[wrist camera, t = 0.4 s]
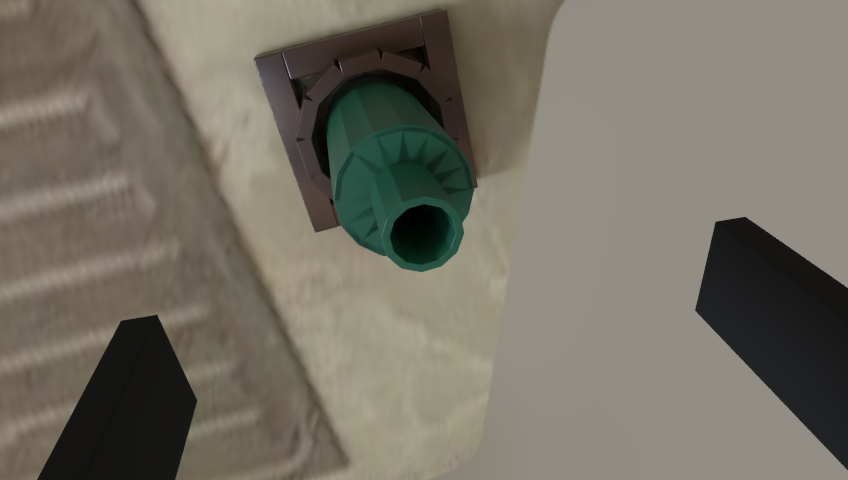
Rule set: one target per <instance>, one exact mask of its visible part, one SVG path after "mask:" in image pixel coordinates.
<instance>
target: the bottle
mask: <svg viewBox="0 0 848 480" xmlns="http://www.w3.org/2000/svg"><path fill="white" fill-rule="evenodd" d="M326 136H327V146H328V155H329V165H330V174H331V184H332V193H333V202H334V205H335V208H336V211H337V214H338V217H339V221H340V224H341V226H342V227H343V228H344V229H345V231H346V232H347V233H348V234H349V235H350V236H351V237H352V238H353V239H354V240H355V242H356V243H357V244H358V245H360V246H362V247H364V248H366V249H369V250H371V251H373V252H375V253H377V254H379V255H382V256H387V257H389V258H390V259H391V260H392V261H393V262H394V263H396V264H397V265H398V266H399V267H400V268H402V269H408V270H413V271H418V272H423V271H427V270H430V269H434V268H437V267H440V266H442V265H443V264H445V263H446V262H447V261H448V260H449V259H450V258H451V257H452V256H453V255H455V254H456V253H457V251H458V248H459V246H460V243H461V240H462V237H463V235H464V231H463V226H462V222H463V221H464V219H465V218H466V216H467V215H468V213H469V209H470V204H471V200H472V196H473V191H474V185H473V180H472V174H471V169H470V164H469V162H468V160H467V159H466V157H465V156H464V155H463V153H462V152H461V150H460V149H459V147H458V146H457V144H456V143H455V142H454V141H453V139H452V138H451V137H450V136H449V135H448V134H447V133H446V132H445V131H444V129H443V128H442V127H441V126H440V125H439V124H438V123H437V122H436V120H435V119H434V118H433V117H432V116H431V115H430V114H429V113H428V111H427V110H426V109H425V108H424V107H423V106H422V105H421V104H420V103H419V101H418V100H417V99H416V98H415V97H414V96H413V95H412V94H411V92H410V91H409V90H408V89H407V88H405V87H404V86H402V85H401V84H399V83H398V82H396V81H394V80H392V79H390V78H387V77H383V76H364V77H360V78H357V79H354V80H352V81H350V82H349V83H347V84H346V85H344V86H343V87H342V88H341V89H340V90H339V91H338V92H337V93H336V94H335V96H334V98H333V99H332V101H331V103H330V105H329V108H328V111H327V117H326Z"/></svg>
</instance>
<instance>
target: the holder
mask: <svg viewBox="0 0 848 480" xmlns="http://www.w3.org/2000/svg"><path fill="white" fill-rule="evenodd" d="M421 46H422V50H423V55H424V60H425V64H426V66H425V65H424V64H422V63H421V62H420V61H418V60H417V59H415V58H414V57H412V56H411V55H408V54H405V53H402V51H406V50H409V49H413V48H417V47H421ZM254 63H255V65H256V68H257V71H258V74H259V77H260V79H261V82H262V85H263V88H264V91H265V93H266V96H267V99H268V102H269V105H270V107H271V110H272V113H273V116H274V119H275V121H276V124H277V127H278V130H279V133H280V135H281V138H282V141H283V144H284V147H285V150H286V152H287V155H288V158H289V161H290V164H291V166H292V169H293V172H294V175H295V178H296V180H297V183H298V186H299V189H300V192H301V194H302V197H303V200H304V203H305V206H306V208H307V211H308V214H309V217H310V220H311V222H312V225H313V228H314V231H315V232H320V231H323V230H327V229H330V228H334V227H338V225H339V226H341V224H340V221H339V217H338V214H337V211H336V208H335V205H334V202H333V193H332V184H331V174H330V165H329V161H328V160H327V159H326V158H325V157H324V156H323V155H321V152H320V149H319V146H318V143H317V140H316V136H315V133H314V127H315V123H316V118H317V114H318V110H319V105H320V104H321V103H322V102H323V100H324V99H325V98H326V97H327V96H328V95H329V94H330V93H331V92H332V91H333V90H334V89H335V88H336V87H337V86H338V85H339V84H340V83H341V82H342V81H343V80H344V79H345V78H347V77H351V76H355V75H359V74H363V73H367V72H370V71H374V70H378V69H384V70H387V71H390V72H394V73H397V74H400V75H404V76H407V77H410V78H414V80H415V81H416V82H417V83H418V84H419V85H420V86H421V87H422V88H423V89H424V91H425V92H426V93H427V95H428V100H429V105H430V109H431V114H432V117H433V118H434V119H435V120H436V122H437V123H438V124H439V125H440V126H441V127H442V128H443V129H444V131H445V132H446V133H447V134H448V135H449V136H450V137H451V138H452V139H453V141H454V142H455V143H456V144H457V146H458V147H459V149H460V150H461V152H462V153H463V155H464V156H465V157H466V159H467V160H468V162H469V164H470V169H471V174H472V180H473V185H474V188H477V187H478V186H477V180H476V174H475V169H474V163H473V157H472V152H471V146H470V141H469V135H468V129H467V124H466V118H465V112H464V107H463V101H462V96H461V90H460V84H459V79H458V73H457V67H456V62H455V56H454V51H453V45H452V39H451V34H450V28H449V22H448V17H447V11H446V10H444V9H437V10H434V11H430V12H426V13H422V14H418V15H416V16H415V15H414V16H410V17H406V18H402V19H398V20H394V21H390V22H386V23H382V24H378V25H375V26H371V27H367V28H363V29H359V30H355V31H351V32H347V33H343V34H339V35H335V36H331V37H327V38H323V39H319V40H315V41H311V42H307V43H303V44H300V45H296V46H292V47H288V48H284V49H283V50H282V49H280V50H276V51H272V52H268V53H264V54H260V55H256V56H255V58H254ZM313 74H314V75H313ZM309 75H313V76H312V78H311V79H310V80H309V81H308V82H307V87H304V91H303V96H302V100H301V105H300V101H299V98H298V95H297V92H296V89H295V86H294V83H293V79H297V78H301V77H305V76H309Z"/></svg>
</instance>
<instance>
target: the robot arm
mask: <svg viewBox="0 0 848 480" xmlns="http://www.w3.org/2000/svg"><path fill="white" fill-rule="evenodd" d="M695 311H696V312H697V313H698V314H699V315H700V316H701V317H702V318H703V319H704V320H705V321H706V322H707V323H708V324H709V325H710V327H711V328H712V329H713V330H714V331H715V332H716V333H717V334H718V335H719V336H720V337H721V338H722V339H723V340H724V341H725V342H726V343H727V344H728V345H729V346H730V347H731V349H732V350H733V351H734V352H735V353H736V354H737V355H738V356H739V357H740V358H741V359H742V360H743V361H744V362H745V363H746V364H747V365H748V366H749V367H750V368H751V369H752V370H753V371H754V373H755V374H756V375H757V376H758V377H759V378H760V379H761V380H762V381H763V382H764V383H765V384H766V385H767V386H768V387H769V388H770V389H771V390H772V391H773V392H774V393H775V395H776V396H777V397H779V399H780V400H781V401H782V402H783V403H784V404H785V405H786V406H787V407H788V408H789V409H790V410H791V411H792V412H793V413H794V414H795V415H796V417H798V419H799V420H800V421H801V422H802V423H803V424H804V425H805V426H806V427H807V428H808V429H809V430H810V431H811V432H812V433H813V434H814V435H815V436H816V437H817V438H818V439H819V441H820V442H821V443H822V444H823V445H824V446H825V447H826V448H827V449H828V450H829V451H830V452H831V453H832V454H833V455H834V456H835V457H836V458H837V459H838V460H839V462H841V464H842V465H844V467H845V468H846V469H847V470H848V288H847V287H845V286H844V285H842V284H841V283H840V282H838V281H837V280H835V279H834V278H832V277H831V276H830V275H828V274H827V273H825V272H824V271H822V270H821V269H820V268H818V267H817V266H815V265H814V264H812V263H811V262H810V261H808V260H806V259H805V258H804V257H802V256H801V255H799V254H798V253H797V252H795V251H794V250H792V249H791V248H789V247H788V246H786V245H785V244H784V243H782V242H781V241H779V240H778V239H776V238H775V237H773V236H772V235H771V234H769V233H768V232H766V231H765V230H763V229H762V228H760V227H759V226H758V225H756V224H755V223H753V222H752V221H751V220H749V219H748V218H746V217H742V218H736V219H730V220H724V221H718V222H716V223H715V227H714V232H713V236H712V240H711V245H710V249H709V253H708V258H707V262H706V266H705V271H704V275H703V279H702V283H701V288H700V292H699V297H698V301H697V305H696V310H695ZM196 403H197V399H196V397H195V395H194V393H193V391H192V389H191V387H190V384H189V382H188V380H187V378H186V376H185V374H184V372H183V369H182V367H181V365H180V363H179V361H178V359H177V357H176V354H175V352H174V350H173V348H172V346H171V344H170V341H169V339H168V337H167V335H166V333H165V331H164V329H163V326H162V324H161V322H160V320H159V318H158V316H157V315H153V316H147V317H141V318H135V319H129V320H123V321H121V322H120V324H119V326H118V328H117V330H116V332H115V334H114V335H113V337H112V339H111V341H110V343H109V345H108V347H107V349H106V351H105V352H104V354H103V356H102V358H101V360H100V362H99V364H98V366H97V368H96V369H95V371H94V373H93V375H92V377H91V379H90V381H89V383H88V385H87V386H86V388H85V390H84V392H83V394H82V396H81V398H80V400H79V402H78V404H77V405H76V407H75V409H74V411H73V413H72V415H71V417H70V419H69V421H68V422H67V424H66V426H65V428H64V430H63V432H62V434H61V436H60V438H59V439H58V441H57V443H56V445H55V447H54V449H53V451H52V453H51V455H50V456H49V458H48V460H47V462H46V464H45V466H44V468H43V470H42V472H41V473H40V475H39V477H38V479H37V480H175V478H176V475H177V471H178V468H179V464H180V460H181V457H182V453H183V450H184V446H185V443H186V439H187V435H188V432H189V428H190V425H191V421H192V417H193V414H194V410H195V407H196Z"/></svg>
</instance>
